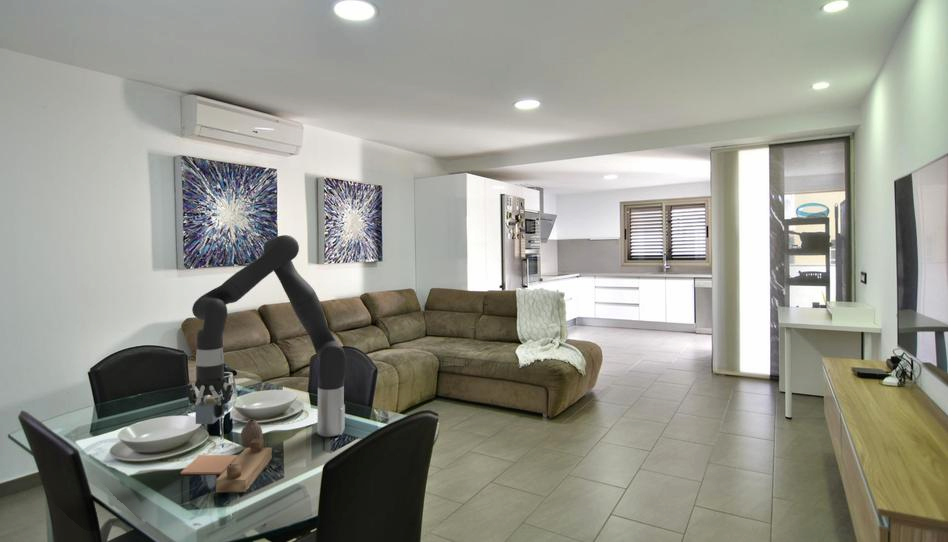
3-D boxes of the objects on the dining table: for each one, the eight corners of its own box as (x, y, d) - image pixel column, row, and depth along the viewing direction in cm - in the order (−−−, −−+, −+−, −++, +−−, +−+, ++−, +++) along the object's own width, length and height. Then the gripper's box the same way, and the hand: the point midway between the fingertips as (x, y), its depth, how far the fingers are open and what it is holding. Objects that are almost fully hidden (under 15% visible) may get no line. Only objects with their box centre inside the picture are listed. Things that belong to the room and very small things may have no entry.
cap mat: (237, 456, 163) (237, 455, 163) (221, 474, 151) (221, 472, 151) (199, 457, 162) (199, 455, 162) (180, 474, 150) (180, 472, 150)
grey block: (224, 414, 160) (224, 394, 160) (212, 423, 152) (212, 402, 152) (207, 414, 160) (207, 394, 159) (195, 423, 152) (195, 402, 151)
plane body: (271, 458, 163) (271, 438, 162) (245, 492, 141) (245, 469, 141) (246, 458, 162) (246, 438, 162) (216, 492, 140) (215, 469, 140)
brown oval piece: (244, 441, 175) (244, 417, 175) (265, 441, 176) (265, 417, 175) (237, 450, 168) (237, 424, 168) (258, 449, 169) (258, 424, 168)
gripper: (238, 359, 159) (238, 412, 160) (191, 359, 158) (192, 412, 159) (228, 365, 152) (228, 421, 153) (179, 365, 151) (179, 420, 152)
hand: (210, 416), depth 156 cm, fingers closed on grey block, 5 cm apart
